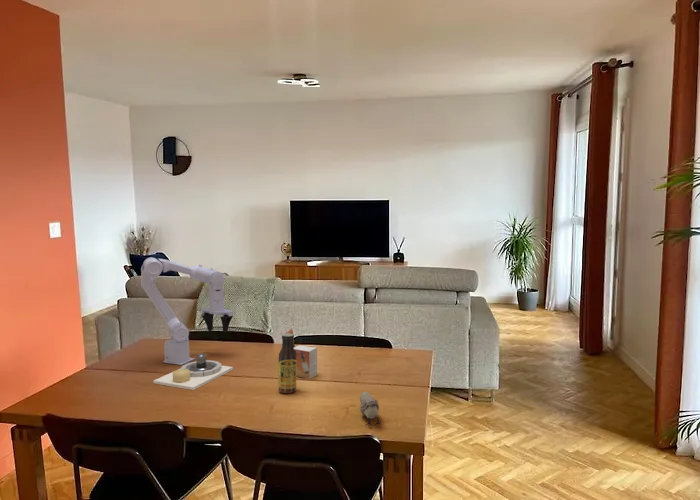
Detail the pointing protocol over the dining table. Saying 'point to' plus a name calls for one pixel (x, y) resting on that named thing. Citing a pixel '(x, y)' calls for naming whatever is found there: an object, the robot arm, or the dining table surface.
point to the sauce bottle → (287, 365)
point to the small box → (306, 361)
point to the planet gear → (201, 364)
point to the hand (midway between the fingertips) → (217, 331)
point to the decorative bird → (369, 407)
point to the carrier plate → (193, 380)
